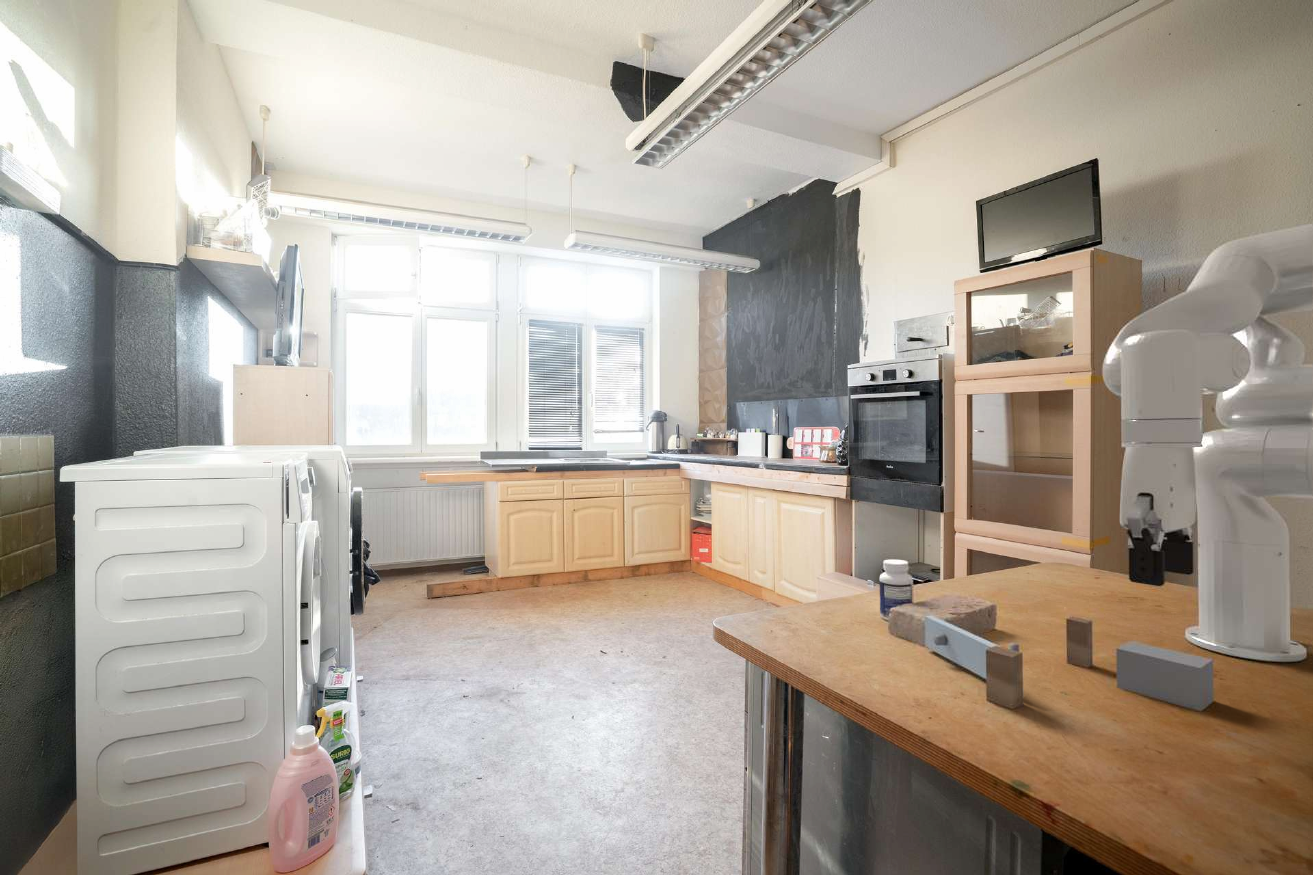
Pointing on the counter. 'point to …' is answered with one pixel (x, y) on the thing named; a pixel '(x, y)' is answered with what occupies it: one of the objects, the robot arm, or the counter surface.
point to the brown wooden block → (1004, 676)
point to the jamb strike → (1079, 641)
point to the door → (958, 645)
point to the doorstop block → (1165, 675)
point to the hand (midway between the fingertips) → (1161, 577)
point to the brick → (942, 616)
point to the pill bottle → (895, 586)
